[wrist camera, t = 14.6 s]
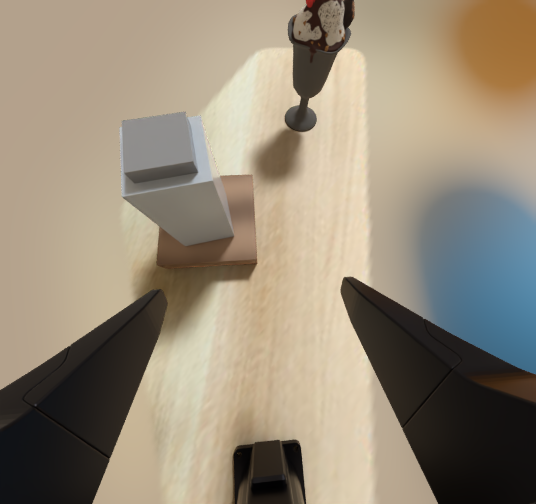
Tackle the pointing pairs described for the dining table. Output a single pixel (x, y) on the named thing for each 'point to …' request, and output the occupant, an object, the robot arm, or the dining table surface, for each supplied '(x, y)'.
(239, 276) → the dining table surface
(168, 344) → the dining table surface
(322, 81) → the sundae
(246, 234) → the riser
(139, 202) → the grey rectangular block
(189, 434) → the dining table surface
